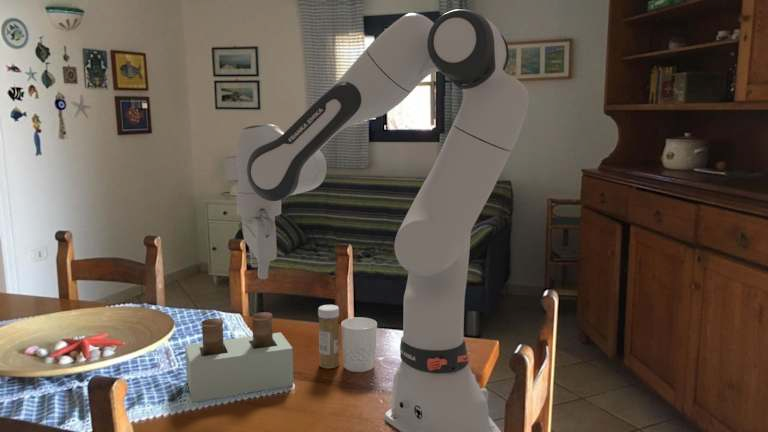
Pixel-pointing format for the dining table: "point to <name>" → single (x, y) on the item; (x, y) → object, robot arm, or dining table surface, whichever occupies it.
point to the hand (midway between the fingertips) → (259, 272)
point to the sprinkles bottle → (328, 336)
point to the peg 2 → (262, 330)
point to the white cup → (359, 343)
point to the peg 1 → (212, 336)
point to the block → (238, 368)
